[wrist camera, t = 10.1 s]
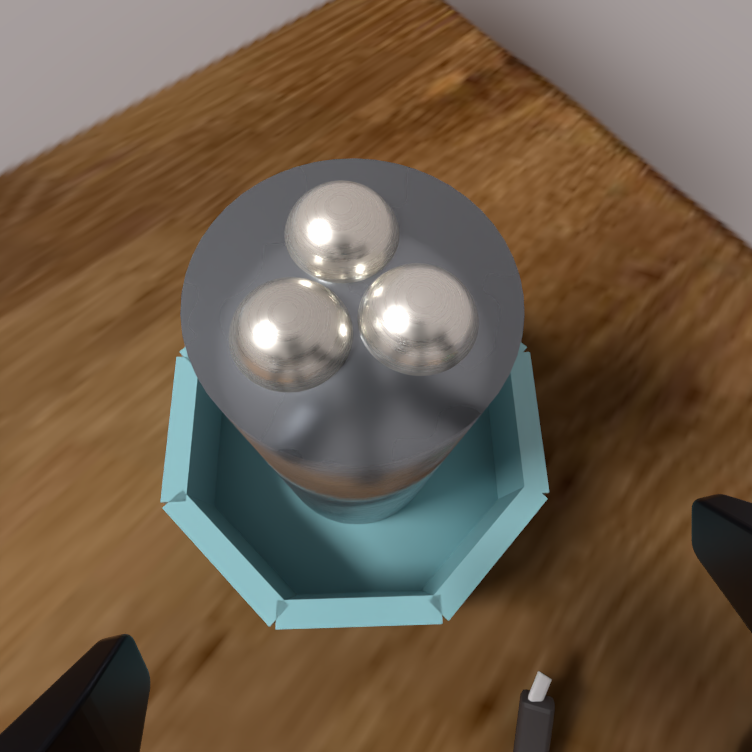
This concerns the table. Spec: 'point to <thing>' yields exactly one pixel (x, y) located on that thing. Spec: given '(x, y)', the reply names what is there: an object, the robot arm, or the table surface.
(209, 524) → the bowl
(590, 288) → the table surface
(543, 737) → the clip-on lamp
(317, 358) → the steel cylinder with balls
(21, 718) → the robot arm
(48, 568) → the table surface
